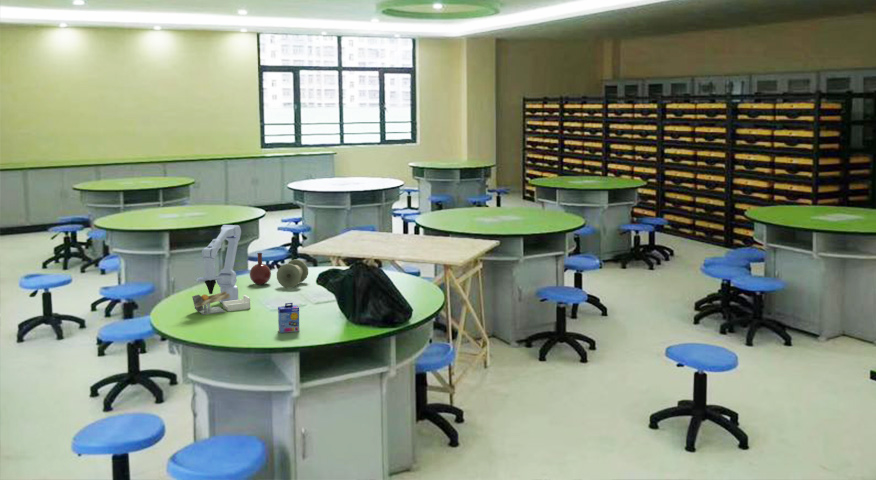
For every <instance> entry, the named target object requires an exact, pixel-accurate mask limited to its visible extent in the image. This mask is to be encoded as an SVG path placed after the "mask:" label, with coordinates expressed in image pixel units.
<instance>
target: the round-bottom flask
mask: <svg viewBox="0 0 876 480" xmlns="http://www.w3.org/2000/svg"><path fill="white" fill-rule="evenodd" d="M256 255H257V264H255V265H253V266H252V267H251V269H250V270H249V277H250V280H251V282H253V284H255V285H260V286H261V285H266V284H267V283H268V282H269V281H270V280H271V276H272V272H271V269H270V268H269V265H266V264H264V263H263V253H262V252H257V253H256Z"/></svg>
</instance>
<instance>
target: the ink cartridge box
mask: <svg viewBox="0 0 876 480" xmlns="http://www.w3.org/2000/svg"><path fill="white" fill-rule="evenodd" d="M277 313H278V314H277V317H278V322H277V323H278V332H279V334H284V333H285V334H286V333H292V332H293V333H296V332H300V307H299V306H298V305H296V304H294V305H293V302H287V303H285V304H284V305H281V306H278V307H277Z"/></svg>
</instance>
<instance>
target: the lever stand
mask: <svg viewBox="0 0 876 480" xmlns="http://www.w3.org/2000/svg"><path fill="white" fill-rule="evenodd" d="M203 309H204V310H202V311H199V312H200V313H201V314H200V313H199V312H198V313H199V314H200V315H202V316H206V315H207V314H208V315H214V314H223V313H226V310H225V309H224V308H221V307H220V306H213V307H211V303H207V305H203Z"/></svg>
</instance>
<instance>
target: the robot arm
mask: <svg viewBox="0 0 876 480" xmlns="http://www.w3.org/2000/svg"><path fill="white" fill-rule="evenodd" d="M241 235H242V229H241V226H240V225H238V224H234V225H233V224H223V225H222V226H221V227H220V233H219V234H218V235H217V237H216V238H213V239H211V240H212V241H211V242H210V243H209V244H208V245H207V247H204V248H202V249H201V257H202V261H203V268H204V269H203V270H204V271H203V272H204V277H203V276H202V277H197V278H196V279H195V281H196V283H201V282H204V283H205V284H204V285H206V288H207V291H208V294H209V295H214V294H213V292H214V289H215V285H216V284H217V285H218V287H219V288H220V289H219V291H220V293H222V292H225V291H226V293H227V294H229V295H230V298H227V299H224V300H221V301H219V302H220V303H221V304H223V301H232V300H239V288H238V285H236V284H237V273H236V271H234V265H235V261H236V254H237V251H238V245H239V241H240V240H241ZM224 241H227V242H228V243H227V249H226V254H225V259H224V265H223V269H221V270H219V271H218V275H216V261H215V260H216V258H217V255H218V251H219V250H220V249H221V247H222V245H223V244H222V243H224Z"/></svg>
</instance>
